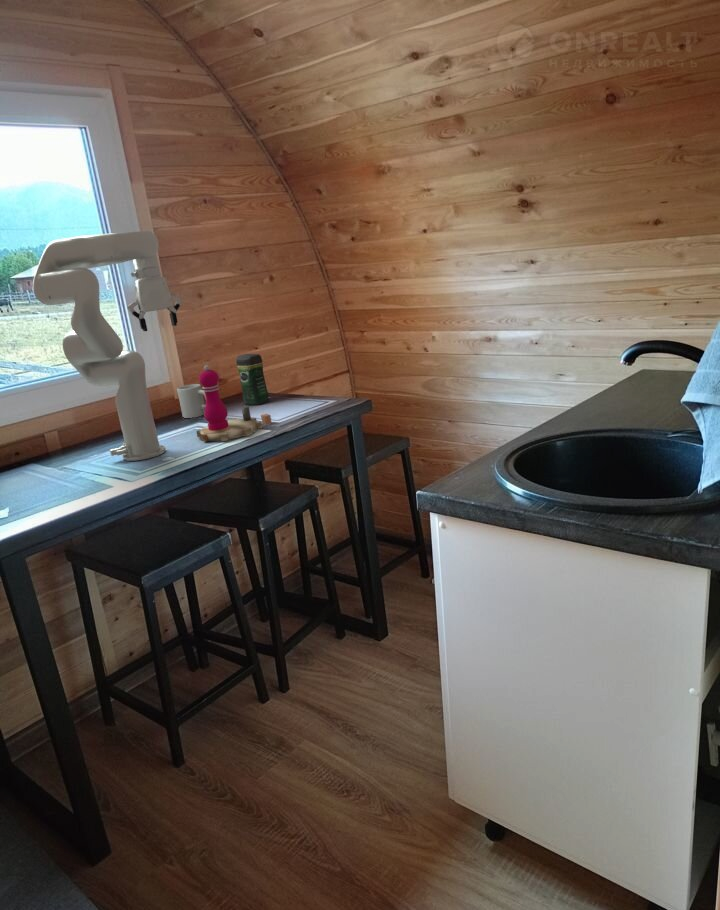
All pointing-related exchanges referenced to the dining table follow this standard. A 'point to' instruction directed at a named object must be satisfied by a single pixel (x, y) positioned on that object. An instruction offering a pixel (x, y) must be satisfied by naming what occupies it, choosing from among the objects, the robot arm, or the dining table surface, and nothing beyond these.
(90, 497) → the dining table surface
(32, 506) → the dining table surface
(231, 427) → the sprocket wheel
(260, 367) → the coffee jar
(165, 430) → the dining table surface
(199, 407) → the mug
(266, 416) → the index marker
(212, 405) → the pepper mill
